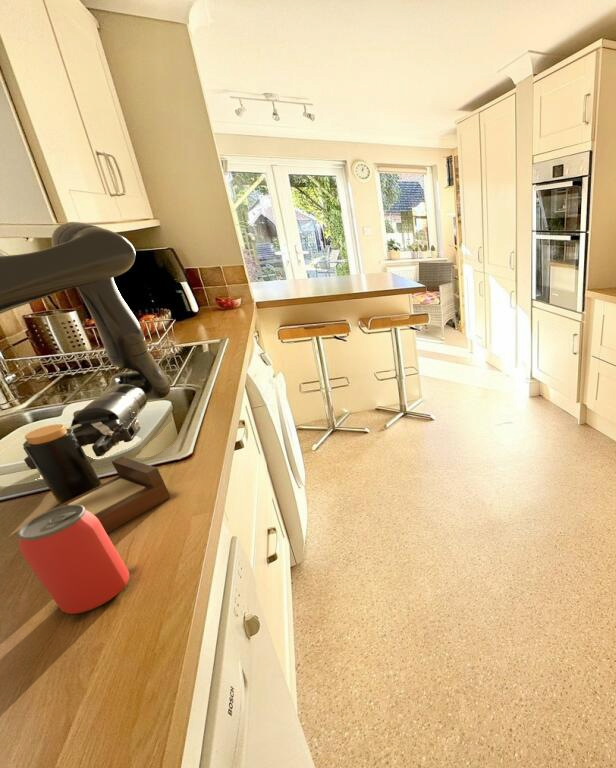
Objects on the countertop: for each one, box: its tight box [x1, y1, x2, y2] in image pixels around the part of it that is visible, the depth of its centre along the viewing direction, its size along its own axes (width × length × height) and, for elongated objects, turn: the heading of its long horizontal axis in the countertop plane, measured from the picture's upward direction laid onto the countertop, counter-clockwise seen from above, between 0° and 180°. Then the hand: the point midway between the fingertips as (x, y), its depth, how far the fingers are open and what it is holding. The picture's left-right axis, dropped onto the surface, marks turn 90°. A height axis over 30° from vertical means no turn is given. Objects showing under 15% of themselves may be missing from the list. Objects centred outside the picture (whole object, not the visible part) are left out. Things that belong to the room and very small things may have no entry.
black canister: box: [22, 423, 103, 506], centre depth 68 cm, size 6×6×13 cm
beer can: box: [16, 505, 130, 615], centre depth 50 cm, size 7×7×12 cm
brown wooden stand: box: [46, 456, 171, 534], centre depth 66 cm, size 10×11×6 cm
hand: (64, 458), depth 69 cm, fingers open, 8 cm apart
